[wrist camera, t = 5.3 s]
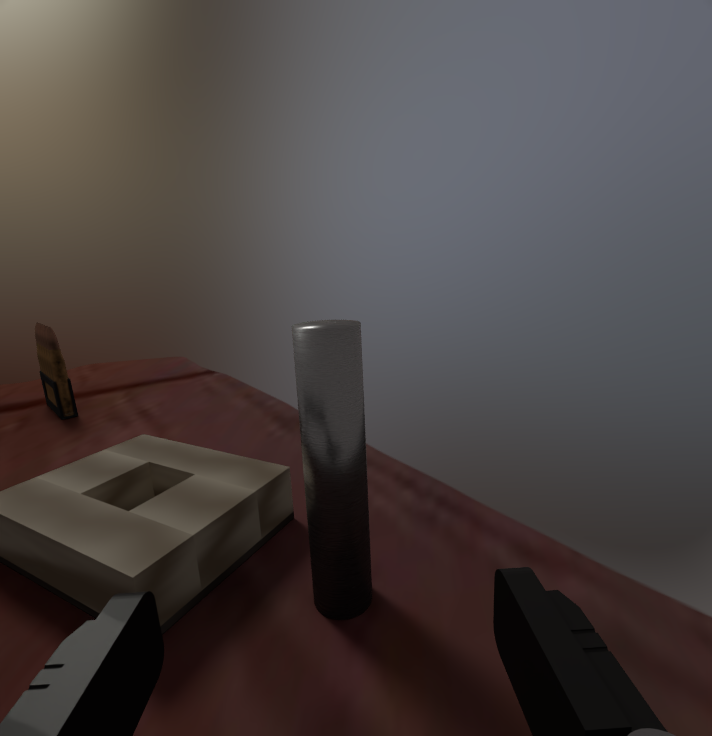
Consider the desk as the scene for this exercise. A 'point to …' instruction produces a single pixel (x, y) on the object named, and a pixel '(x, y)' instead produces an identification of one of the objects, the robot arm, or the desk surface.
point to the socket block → (143, 523)
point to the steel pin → (334, 463)
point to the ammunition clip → (54, 373)
